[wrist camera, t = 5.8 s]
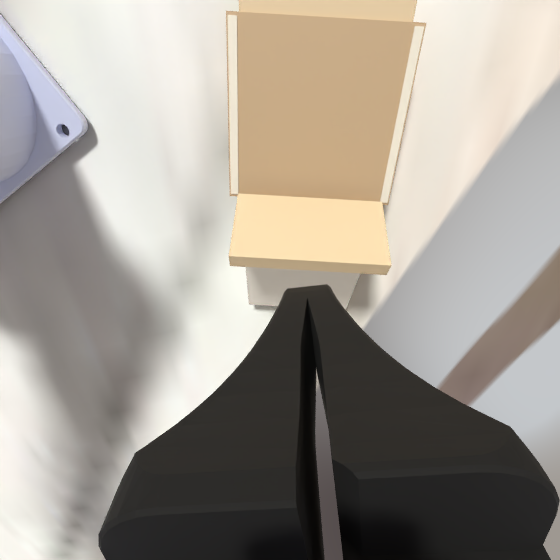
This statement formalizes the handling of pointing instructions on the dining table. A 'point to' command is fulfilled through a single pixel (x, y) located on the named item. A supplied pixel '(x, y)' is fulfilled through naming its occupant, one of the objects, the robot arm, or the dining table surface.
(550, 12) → the dining table surface
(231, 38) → the carton
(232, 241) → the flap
